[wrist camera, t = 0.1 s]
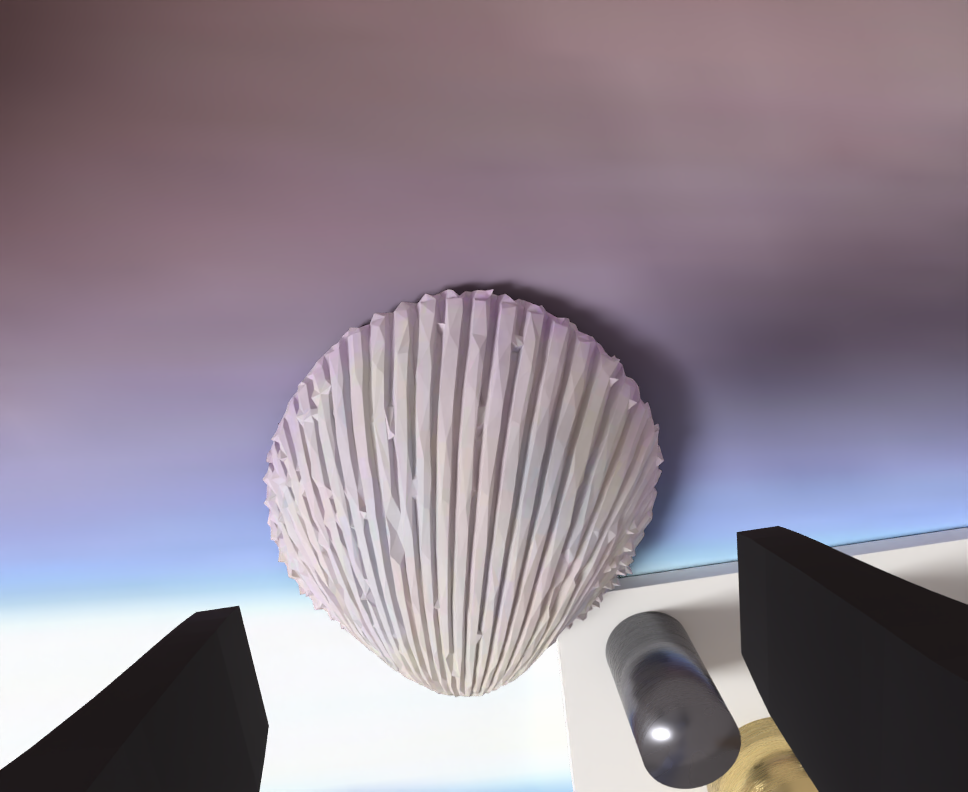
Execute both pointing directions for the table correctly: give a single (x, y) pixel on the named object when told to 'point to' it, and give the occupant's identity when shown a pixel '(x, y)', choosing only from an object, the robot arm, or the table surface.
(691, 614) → the field mat
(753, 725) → the brass knob
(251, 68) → the table surface
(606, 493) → the seashell
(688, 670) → the spacers
